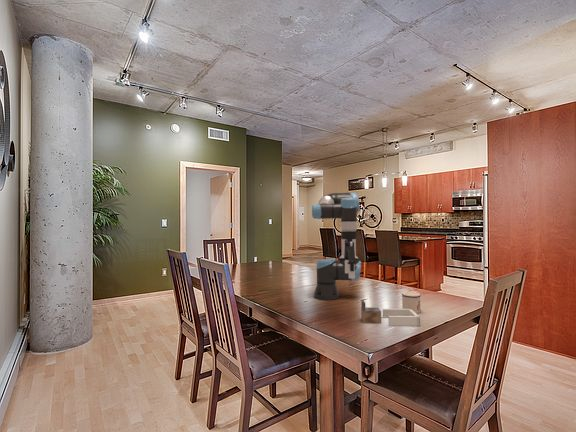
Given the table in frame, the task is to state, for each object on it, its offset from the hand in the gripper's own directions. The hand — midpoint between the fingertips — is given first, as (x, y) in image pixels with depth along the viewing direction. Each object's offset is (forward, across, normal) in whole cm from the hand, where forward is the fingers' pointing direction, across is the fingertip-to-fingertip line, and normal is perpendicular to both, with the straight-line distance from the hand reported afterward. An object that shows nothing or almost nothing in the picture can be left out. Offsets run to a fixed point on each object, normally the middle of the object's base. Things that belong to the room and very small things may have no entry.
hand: (349, 275), depth 147 cm
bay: (+21, -1, -22) cm, 31 cm away
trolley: (+21, 0, -10) cm, 23 cm away
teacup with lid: (+21, +16, -34) cm, 43 cm away
